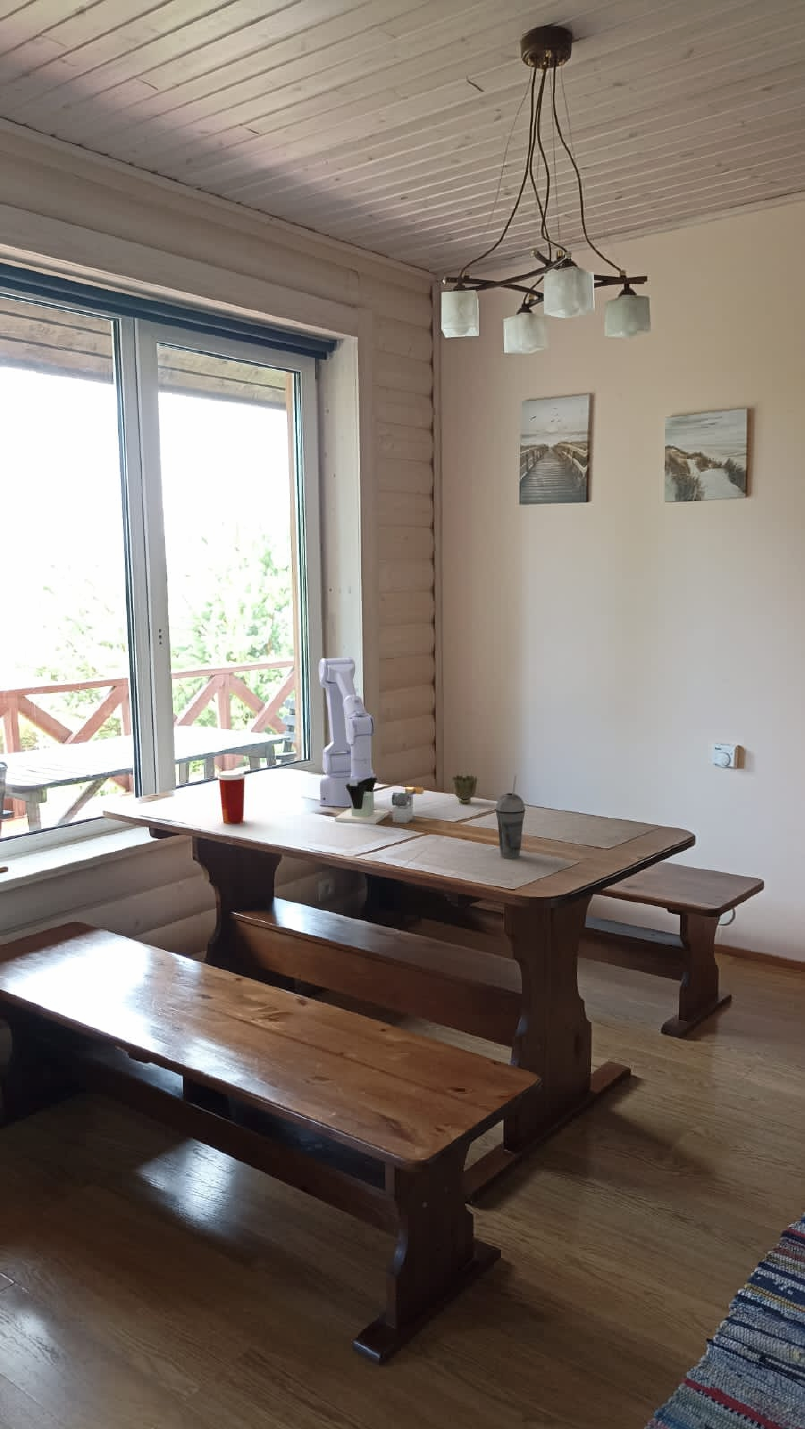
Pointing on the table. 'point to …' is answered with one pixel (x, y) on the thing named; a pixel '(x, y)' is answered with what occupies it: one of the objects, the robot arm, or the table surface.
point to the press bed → (371, 819)
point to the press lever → (405, 796)
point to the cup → (464, 788)
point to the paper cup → (232, 796)
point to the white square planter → (403, 812)
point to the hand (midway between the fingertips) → (362, 805)
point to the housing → (365, 806)
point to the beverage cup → (510, 823)
